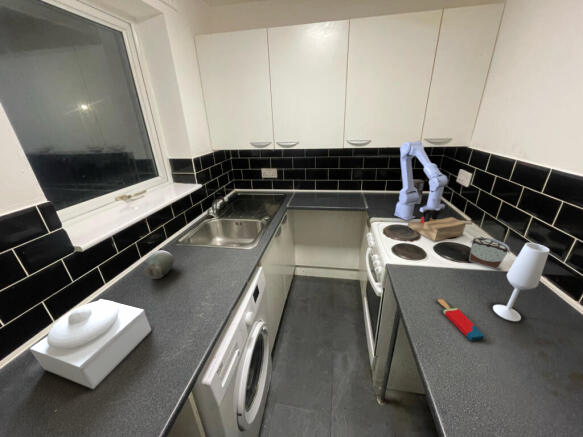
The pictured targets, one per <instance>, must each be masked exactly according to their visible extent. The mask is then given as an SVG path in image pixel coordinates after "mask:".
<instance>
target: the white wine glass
mask: <svg viewBox="0 0 583 437" xmlns="http://www.w3.org/2000/svg"><path fill="white" fill-rule="evenodd" d="M549 254H550V248H549V247H547V246H545V245H542V244H539V243H536V242H526V243H524V245H523V247H522V248H521V250H520V252H519V253H518V255H517V256H516V258H515V260H514V262H513V263H512V265H511V267H510V268H509V269H508V272H507V273H506V279H507V280H508V283H509V284H510V285H511V286H512V287H513V288H514V289H513V291H512V293H511V295H510V298H509V300H508V302H507V304H506V305H504V304H494V305H493V306H492V310H493V311H494V313H495V314H496V315H498V316H499V317H501V318H502V319H505V320H508V321H512V322H520V321H521V319H522V316H521V315H520V313H519V312H518V311H516V310H515V309H513V306H514V304H515V302H516V301H517V298H518V295H519V293H520V291H528V290H529V291H530V290H533V289H535V288H537V287H538V286H539V285H540V280H541V278H542V274H543V272H544V268H545V266H546V262H547V259H548V256H549Z"/></svg>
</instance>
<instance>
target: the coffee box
mask: <svg viewBox="0 0 583 437" xmlns="http://www.w3.org/2000/svg"><path fill="white" fill-rule="evenodd" d="M413 186H414V187H415V188H416V189H417V192H418V194H419V199H418V201H416V203H415V205H421V202H422V199H423V198H422V197H423V192H424V187H425V181H424V180H423V179H413ZM407 193H409V192H407Z"/></svg>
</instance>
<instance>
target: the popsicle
mask: <svg viewBox="0 0 583 437" xmlns="http://www.w3.org/2000/svg"><path fill="white" fill-rule="evenodd" d="M437 302H438V303H439V304H440V305H441V306H442V307H443V308H444V309H443V314H444V315H445V316H446V317H447V318H448V320H449V321H450V322H452V324H453V325H454V326H455V327H456V328H457V329H458V330H459V331H460V332H461V333H462V334H463V335H464V336H465V337H466V338H467V339H468V340H469V341H470V342H473V341H479V340H480V341H481V340H484V338H485V334H484V333H483V332H482V331H481V330H479V328H478V327H477V326H476V325H475V324H474V323H473V322H472V321H471V320H470V319H469V318H468V317H467V315H465V314H464V313H463V312H462V311H461V310H460V309H459V308H458V307H453V308H452V307H451V306H449V304H448V303H447V302H446V301H445V300H444V299H442V298H438V299H437Z"/></svg>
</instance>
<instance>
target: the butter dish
mask: <svg viewBox="0 0 583 437" xmlns="http://www.w3.org/2000/svg"><path fill="white" fill-rule="evenodd" d="M145 311H146V310H145V309H144V308H143V309H142V308H138V307H135V306H131V305H126V304H122V303H119V302H115V301H112V300H107V299H103V298H99V299H98V300H97V301H93V302H89V303H86V304H84V305H81V306H78V307H76V308H75V309H73V310H71V311H70V312H68V313H66V314H65V315H64V316H62V317H61V318H59V320H57V321H56V322H55V323H54V325H52V327H51V328H50V330H49V331H48V334H47V336H44V338H43V339H41V340H39V341H38V342H37V343H35V344H34V345H32V346H31V347H30V348H29V351H30V352H31V354H32V355H33V356H34V358H35V359H36V360H37V362H38V363H39V364H40V366H41V367H42V368H43V370H45V371H47V372H50V373H52V374H54V375H58V376H59V377H62V378H65V379H67V380H70V381H72V382H74V383H77V384H79V385H82V386H83V387H87V388H89V389H91V390H94V389H95V388H96V387H97V386H98V385H99V384H100V383H101V382H102V381H103V380H104V379H105V378H106V377H107V376H108V375H109V374H110V373H111V372H112V371H113V370H114V369H115V368H116V367H117V366H118V365H119V364H120V363H121V362H122V361H123V360H124V359H125V358H126V357H127V356H128V355H129V354H130V353H131V352H132V351H133V350H134V349H135V348H136V347H137V346H138V345H139V344H140V343H141V342H142V341H143V339H145V338H146V336H148V335H149V334H150V333H151V331H152V327H151V325H150V323H149V321H148V318H147V316H146V312H145Z"/></svg>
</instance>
